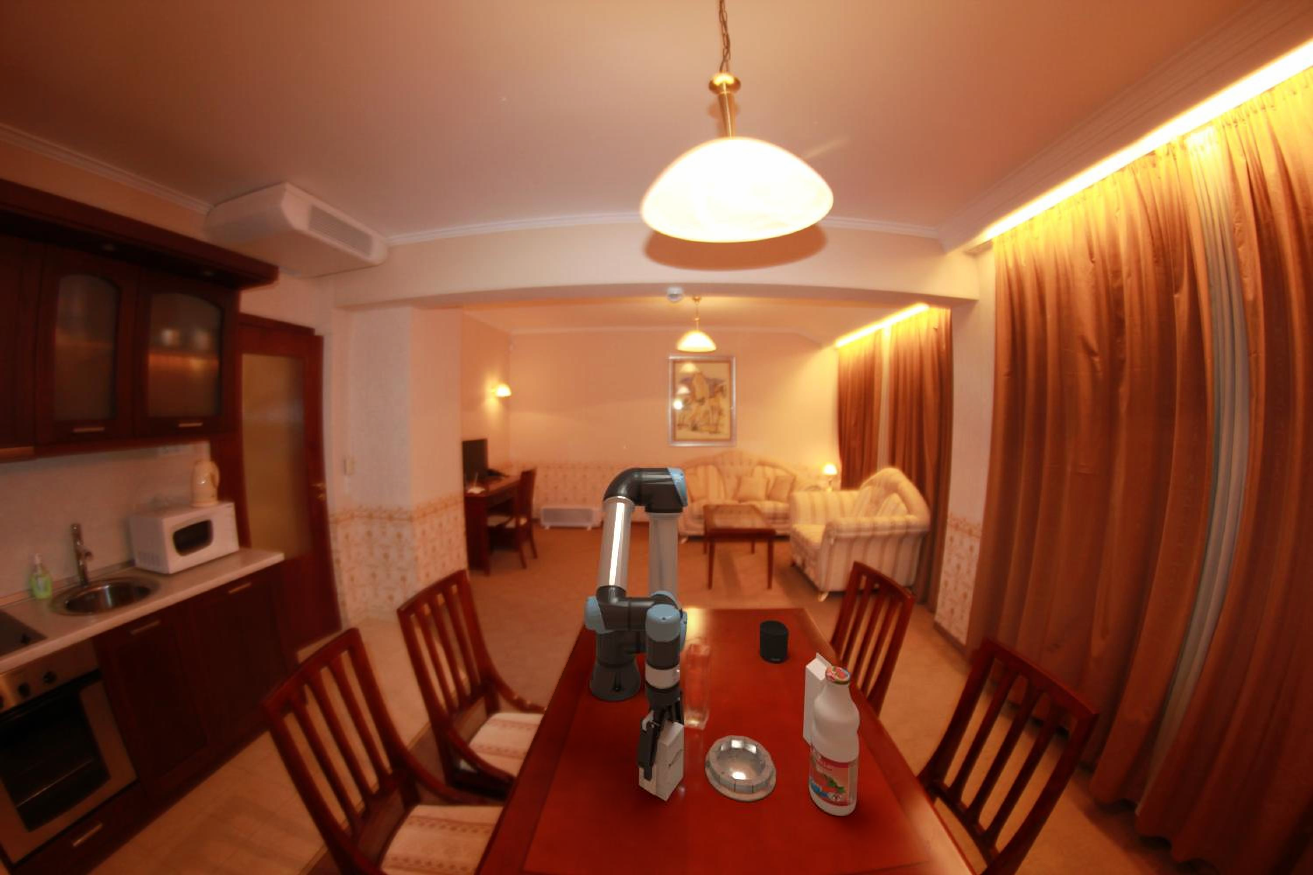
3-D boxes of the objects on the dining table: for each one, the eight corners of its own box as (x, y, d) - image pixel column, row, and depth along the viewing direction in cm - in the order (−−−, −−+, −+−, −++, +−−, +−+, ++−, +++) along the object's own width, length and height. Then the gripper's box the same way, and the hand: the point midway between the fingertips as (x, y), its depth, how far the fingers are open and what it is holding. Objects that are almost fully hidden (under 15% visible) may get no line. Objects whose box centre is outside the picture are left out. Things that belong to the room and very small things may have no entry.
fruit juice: (866, 811, 91) (873, 683, 89) (826, 822, 89) (832, 690, 87) (836, 774, 100) (842, 656, 98) (800, 783, 98) (804, 662, 96)
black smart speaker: (753, 656, 147) (754, 627, 146) (766, 645, 154) (767, 617, 153) (780, 668, 141) (781, 637, 140) (792, 655, 148) (793, 626, 147)
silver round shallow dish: (692, 777, 99) (692, 765, 99) (723, 733, 112) (724, 723, 112) (760, 815, 90) (760, 802, 90) (785, 763, 103) (786, 752, 103)
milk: (817, 755, 106) (821, 668, 104) (802, 737, 112) (805, 653, 110) (839, 749, 108) (842, 663, 106) (823, 732, 113) (826, 650, 111)
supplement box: (666, 802, 93) (667, 746, 92) (638, 785, 97) (638, 731, 96) (684, 778, 99) (685, 724, 98) (656, 762, 103) (657, 711, 102)
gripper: (648, 713, 85) (647, 821, 87) (701, 661, 103) (699, 753, 104) (618, 697, 90) (618, 802, 92) (673, 651, 107) (672, 739, 109)
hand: (661, 776), depth 98 cm, fingers open, 8 cm apart
